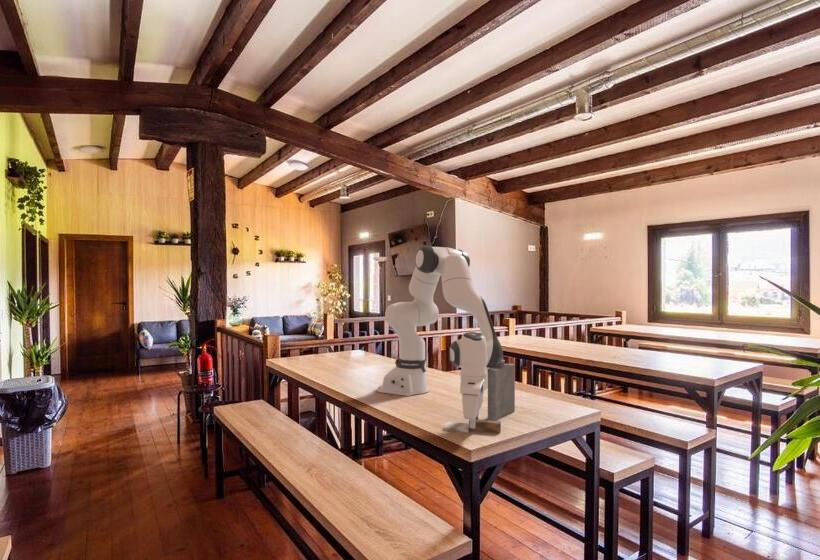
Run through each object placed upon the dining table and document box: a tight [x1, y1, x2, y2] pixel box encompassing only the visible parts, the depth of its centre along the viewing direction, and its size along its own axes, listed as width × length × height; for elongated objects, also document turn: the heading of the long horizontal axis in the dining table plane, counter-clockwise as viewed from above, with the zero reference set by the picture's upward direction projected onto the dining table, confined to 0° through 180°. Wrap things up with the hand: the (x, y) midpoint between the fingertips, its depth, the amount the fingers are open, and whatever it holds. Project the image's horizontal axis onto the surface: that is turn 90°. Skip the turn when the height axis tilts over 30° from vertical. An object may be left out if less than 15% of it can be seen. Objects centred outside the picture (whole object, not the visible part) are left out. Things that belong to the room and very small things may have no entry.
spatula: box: [443, 418, 502, 434], centre depth 151 cm, size 18×6×3 cm, turn 74°
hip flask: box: [487, 359, 516, 421], centre depth 166 cm, size 16×4×20 cm, turn 139°
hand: (474, 424), depth 150 cm, fingers open, 5 cm apart
